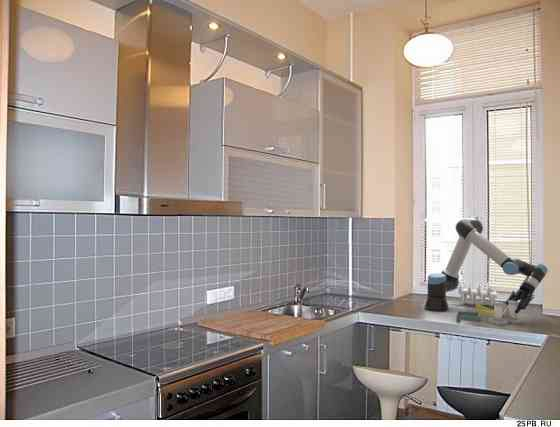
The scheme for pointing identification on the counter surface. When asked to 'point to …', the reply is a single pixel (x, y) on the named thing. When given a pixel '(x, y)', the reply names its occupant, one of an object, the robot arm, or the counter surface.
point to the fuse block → (505, 321)
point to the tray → (467, 316)
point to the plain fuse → (498, 311)
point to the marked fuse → (512, 308)
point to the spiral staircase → (476, 293)
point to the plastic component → (485, 310)
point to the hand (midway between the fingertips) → (507, 315)
